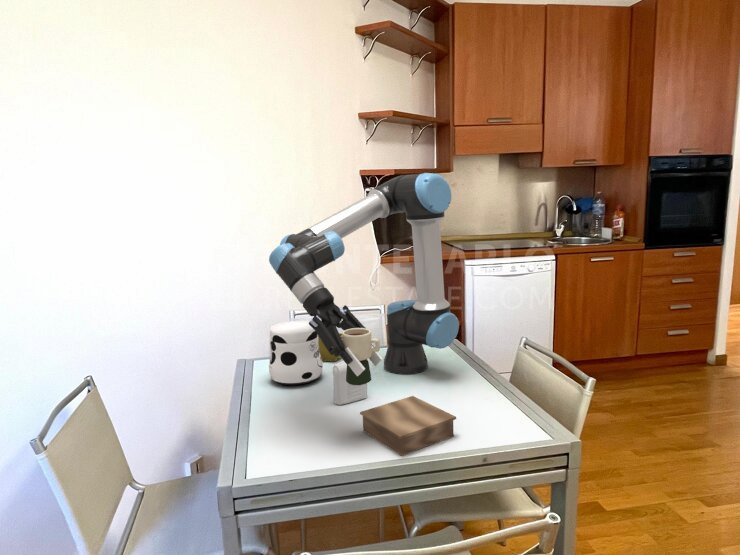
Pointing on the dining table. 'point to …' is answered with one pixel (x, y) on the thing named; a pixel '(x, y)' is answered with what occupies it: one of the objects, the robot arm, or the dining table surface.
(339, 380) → the photo printer
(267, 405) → the dining table surface
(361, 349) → the character mug
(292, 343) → the milk container
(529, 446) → the dining table surface
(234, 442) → the dining table surface
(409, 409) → the walnut stand
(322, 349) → the flower pot
